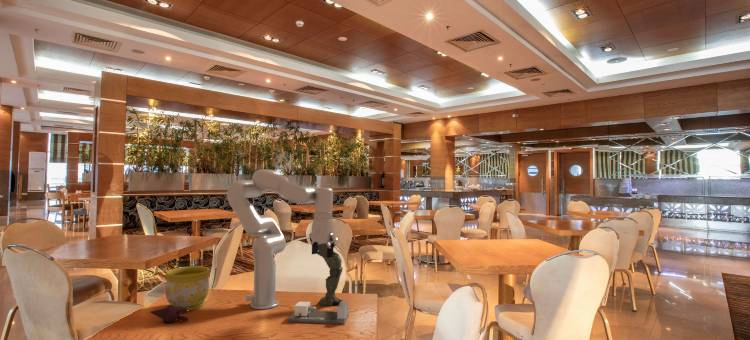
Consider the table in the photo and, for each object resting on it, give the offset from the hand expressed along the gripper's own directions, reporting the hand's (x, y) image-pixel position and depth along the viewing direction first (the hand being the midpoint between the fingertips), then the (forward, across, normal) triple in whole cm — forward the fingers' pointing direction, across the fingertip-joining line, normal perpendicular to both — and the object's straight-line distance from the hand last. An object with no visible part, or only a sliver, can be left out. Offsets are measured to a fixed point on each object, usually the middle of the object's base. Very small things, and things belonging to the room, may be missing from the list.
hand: (322, 255), depth 167 cm
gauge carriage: (+23, +1, -9) cm, 25 cm away
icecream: (+26, -38, -47) cm, 66 cm away
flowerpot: (+26, -50, -34) cm, 66 cm away
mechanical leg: (+25, -7, +12) cm, 28 cm away
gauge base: (+25, +5, -5) cm, 26 cm away
